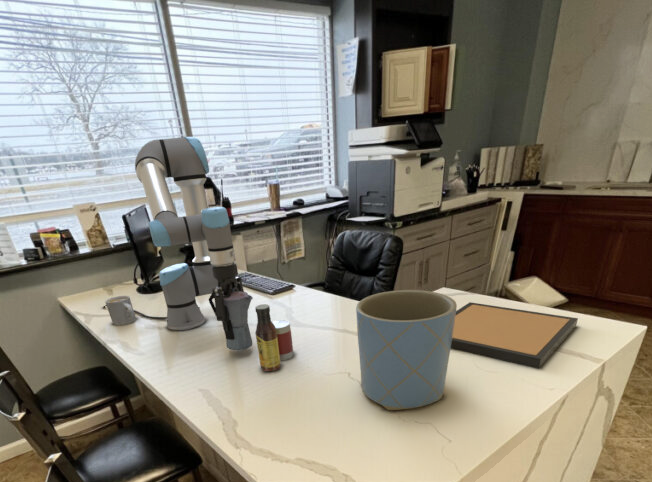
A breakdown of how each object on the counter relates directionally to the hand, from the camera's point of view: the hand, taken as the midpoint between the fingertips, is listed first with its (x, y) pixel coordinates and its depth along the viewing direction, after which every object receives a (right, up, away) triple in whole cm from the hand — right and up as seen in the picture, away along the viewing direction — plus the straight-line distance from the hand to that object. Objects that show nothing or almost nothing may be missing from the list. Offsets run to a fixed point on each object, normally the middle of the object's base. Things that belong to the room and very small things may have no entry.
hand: (236, 334), depth 135 cm
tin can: (+15, -8, -2) cm, 17 cm away
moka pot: (0, -4, +2) cm, 4 cm away
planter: (+48, -20, -28) cm, 59 cm away
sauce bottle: (+12, -12, -9) cm, 19 cm away
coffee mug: (-56, +12, +44) cm, 72 cm away
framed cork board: (+85, -1, -3) cm, 85 cm away
